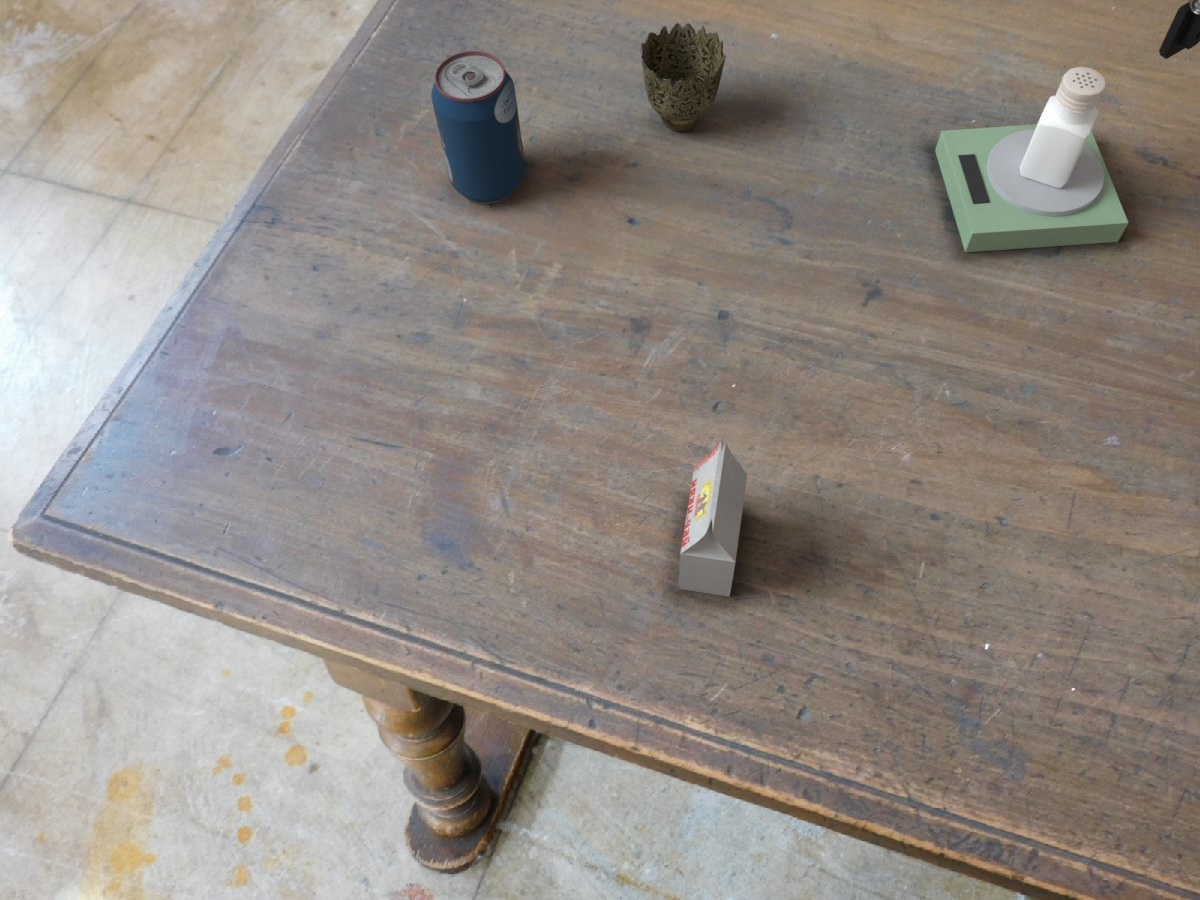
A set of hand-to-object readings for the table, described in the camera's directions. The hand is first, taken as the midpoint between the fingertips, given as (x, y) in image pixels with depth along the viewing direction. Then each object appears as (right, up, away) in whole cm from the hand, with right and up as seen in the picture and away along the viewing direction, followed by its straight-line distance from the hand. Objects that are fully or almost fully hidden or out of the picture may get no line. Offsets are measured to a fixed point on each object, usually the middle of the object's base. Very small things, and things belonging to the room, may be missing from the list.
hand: (1123, 13), depth 78 cm
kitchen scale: (-1, -9, +16) cm, 19 cm away
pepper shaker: (0, -8, +14) cm, 16 cm away
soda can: (-48, -7, +20) cm, 52 cm away
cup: (-31, -1, +23) cm, 38 cm away
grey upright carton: (-30, -39, 0) cm, 49 cm away
